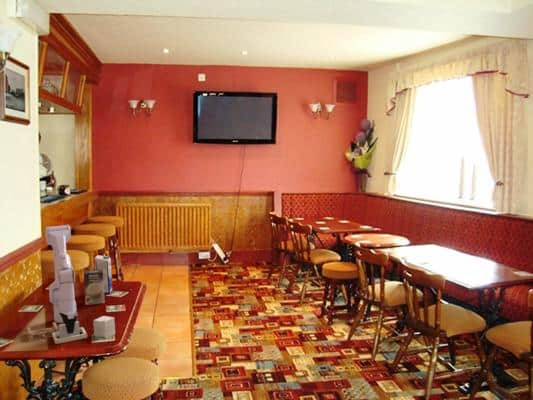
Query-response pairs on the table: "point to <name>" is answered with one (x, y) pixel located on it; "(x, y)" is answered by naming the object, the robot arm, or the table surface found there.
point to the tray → (71, 338)
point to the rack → (41, 331)
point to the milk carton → (105, 271)
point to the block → (63, 330)
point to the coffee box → (94, 287)
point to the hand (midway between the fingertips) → (69, 331)
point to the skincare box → (104, 326)
